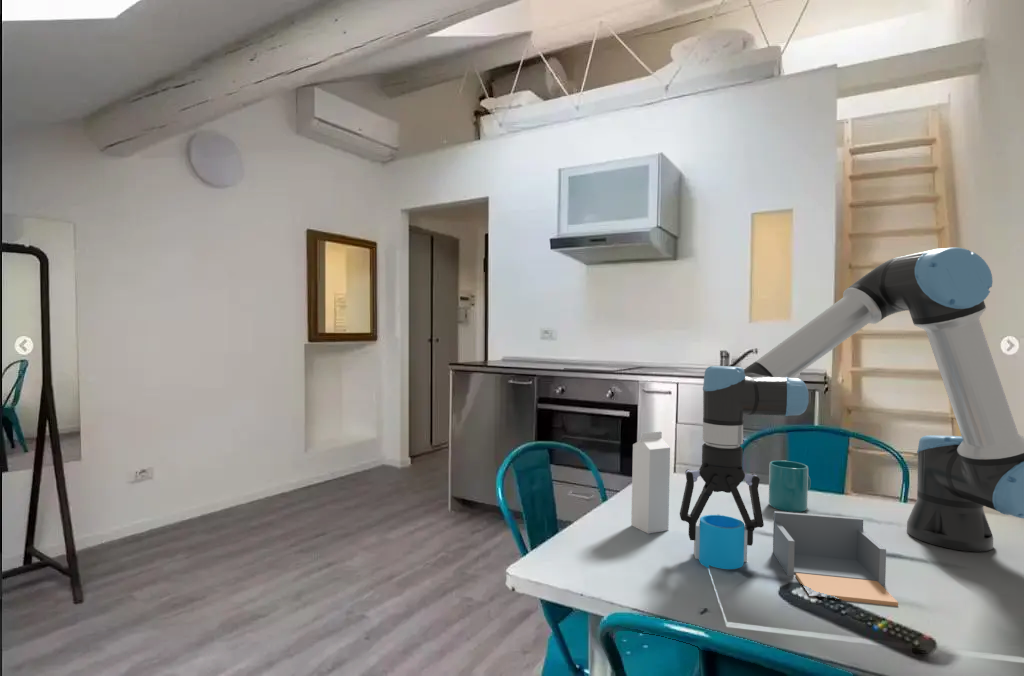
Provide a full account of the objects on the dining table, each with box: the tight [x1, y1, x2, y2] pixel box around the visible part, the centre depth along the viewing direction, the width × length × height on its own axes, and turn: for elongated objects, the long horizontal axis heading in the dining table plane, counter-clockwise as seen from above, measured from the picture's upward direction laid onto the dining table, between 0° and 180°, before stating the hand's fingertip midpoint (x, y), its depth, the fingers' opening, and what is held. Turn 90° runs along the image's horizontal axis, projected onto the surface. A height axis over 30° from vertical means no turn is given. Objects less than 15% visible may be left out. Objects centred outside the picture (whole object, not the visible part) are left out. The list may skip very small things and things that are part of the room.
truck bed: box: [772, 510, 887, 586], centre depth 106 cm, size 16×11×9 cm
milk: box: [630, 431, 671, 534], centre depth 127 cm, size 6×6×22 cm
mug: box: [698, 514, 745, 570], centre depth 110 cm, size 12×8×8 cm
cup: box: [768, 460, 812, 513], centre depth 145 cm, size 9×12×11 cm
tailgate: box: [795, 573, 899, 607], centre depth 96 cm, size 13×1×8 cm
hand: (719, 558), depth 110 cm, fingers closed on mug, 8 cm apart
